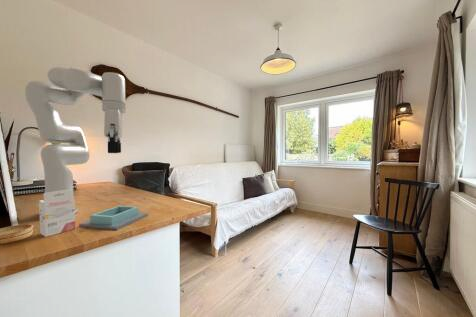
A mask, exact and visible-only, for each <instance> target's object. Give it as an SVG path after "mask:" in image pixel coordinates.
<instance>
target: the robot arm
mask: <svg viewBox="0 0 476 317" xmlns="http://www.w3.org/2000/svg"><path fill="white" fill-rule="evenodd" d="M47 78H48V80H49V81H50V82H48V81H47V82H46V81H39V80H33V81H32V80H31V81H29V82H27V83H26V86H25V89H24V96H25V99H26V102H27V105H29V108H30V109H31V112H32V113H33V116H34V118H35V121H36V125H37V128H38V132H39V135H40V138H41V140H42V141H43V142H44V143H49V144H48V145H44V146H43V147H42V148H41V151H40V159H41V162H42V166H43V173H44V174H43V175H44V188H45V189H44V193H48V192H54V191H62V190H70V189H72V190H73V191H74V180H73V179H74V178H73V177H74V176H73V173H72V171H71V169H69V167H68V166H75V165H76V166H77V165H83V164H84V165H85V164H86V163H88V162H89V160H90V150H89V147H88V144H87V140H86V135H85V133H84V131H83V129H82V128H81V127H80V126H78V125H77V124H73V123H64V122H63V121H62V119H61V115H60V113H59V112H58V110H57V109H56V108H55V107H53V105H51V104H50V103H52V104H57V105H64V106H69V107H70V106H74V105H76V104H77V103H78V102H79V101H80V100H81V99H82V98H83V97H84V96H85V94H90V95H94V96H97V97H101V101H102V102H101V109H102V112H104V122H103V123H104V126H103V127H104V128H103V129H104V130H103V136H104V137H105V138H107V153H108V154H120V153H121V152H122V142H121V138H122V135H123V114H126V80H125V77H124V76H123V75H121V74H120V73H118V72H110V71H109V72H103V74H102V75H98V74H95V73H93V72H89V71H87V70H82V69H78V68H72V67H69V68H67V67H61V66H60V67H59V66H56V67H55V66H54V67H52V68H50V69H49V70H48V72H47ZM62 195H64V194H60V193H58V194H57V195H54V197H56V196H62ZM74 208H75V214H76V213H78V212H79V209H78V207H74Z"/></svg>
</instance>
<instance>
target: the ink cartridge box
mask: <svg viewBox="0 0 476 317" xmlns="http://www.w3.org/2000/svg"><path fill="white" fill-rule="evenodd" d="M58 193H60V194H64V195H62V196H56V197H54V195H57V194H58ZM38 208H39V209H38V210H39V211H38V212H39V228H40V230H39V232H40V235H41V236H43V237H50V236H55V235H58V234H62V233H64V232H69V231H73V230H75V229H76V213H75V208H76V207H75V198H74V189H73V190H72V189H70V190H62V191H54V192H48V193H45V192H44V193H43V199H42V200H40V199H39V200H38Z"/></svg>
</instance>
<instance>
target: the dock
mask: <svg viewBox="0 0 476 317" xmlns="http://www.w3.org/2000/svg"><path fill="white" fill-rule="evenodd" d="M148 216H149V213H148V212H139V206H129V205H117V206H114V207H112V208H108V209H105V210H102V211H99V212H96V213H93V214H90V215H89V219H88V220H86V221H83V222H80V223H79V225H78V227H80V228H81V227H82V228H91V229H92V228H93V229H103V230H111V231H118V230H120V229H123V228H124V227H127V226H128V225H131V224H133V223H135V222H137V221H140V220H141V219H143V218H146V217H148Z"/></svg>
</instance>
